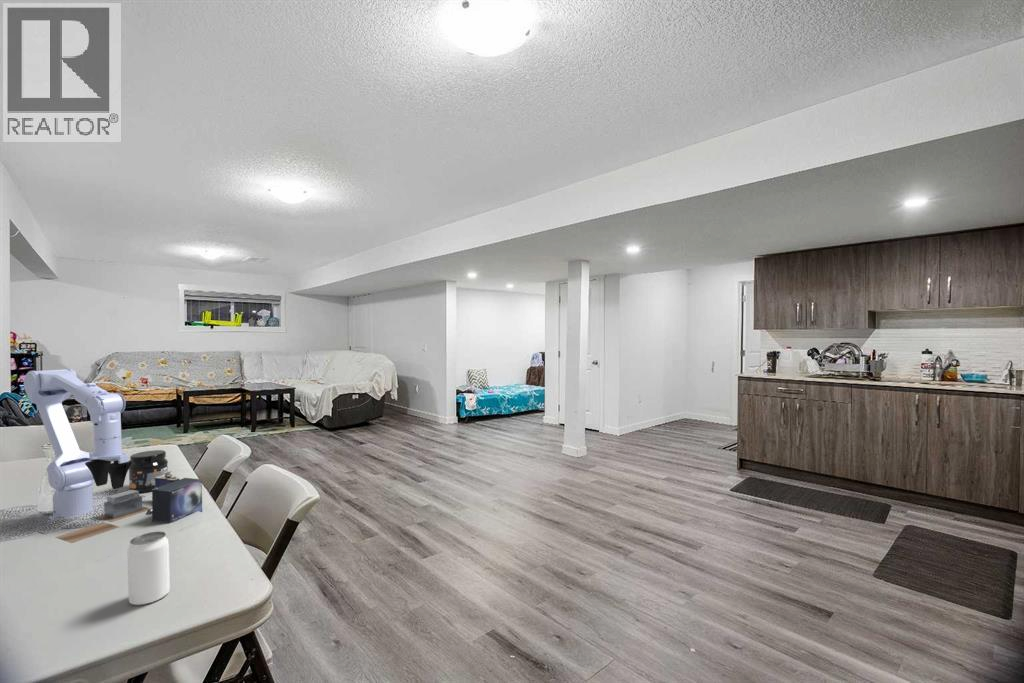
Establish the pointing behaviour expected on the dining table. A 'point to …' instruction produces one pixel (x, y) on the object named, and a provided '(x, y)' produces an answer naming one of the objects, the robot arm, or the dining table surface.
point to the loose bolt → (149, 512)
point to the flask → (164, 479)
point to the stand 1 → (87, 532)
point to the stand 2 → (123, 516)
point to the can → (148, 568)
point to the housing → (122, 504)
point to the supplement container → (146, 469)
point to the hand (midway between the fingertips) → (109, 486)
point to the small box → (176, 500)
